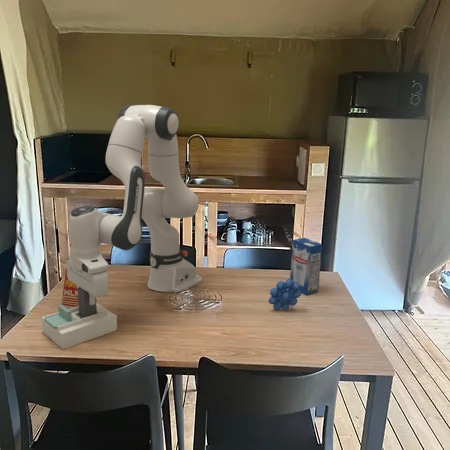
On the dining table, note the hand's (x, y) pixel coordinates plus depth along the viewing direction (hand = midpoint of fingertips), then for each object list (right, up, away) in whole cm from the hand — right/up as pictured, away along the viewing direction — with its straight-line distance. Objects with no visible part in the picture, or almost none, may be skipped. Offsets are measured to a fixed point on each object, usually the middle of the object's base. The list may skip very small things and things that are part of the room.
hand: (87, 301), depth 143 cm
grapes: (+64, -6, +20) cm, 68 cm away
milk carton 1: (-9, -4, +20) cm, 22 cm away
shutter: (-7, -5, -5) cm, 10 cm away
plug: (0, -4, +1) cm, 5 cm away
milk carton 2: (+75, -2, +38) cm, 84 cm away
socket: (-2, -10, +1) cm, 10 cm away
